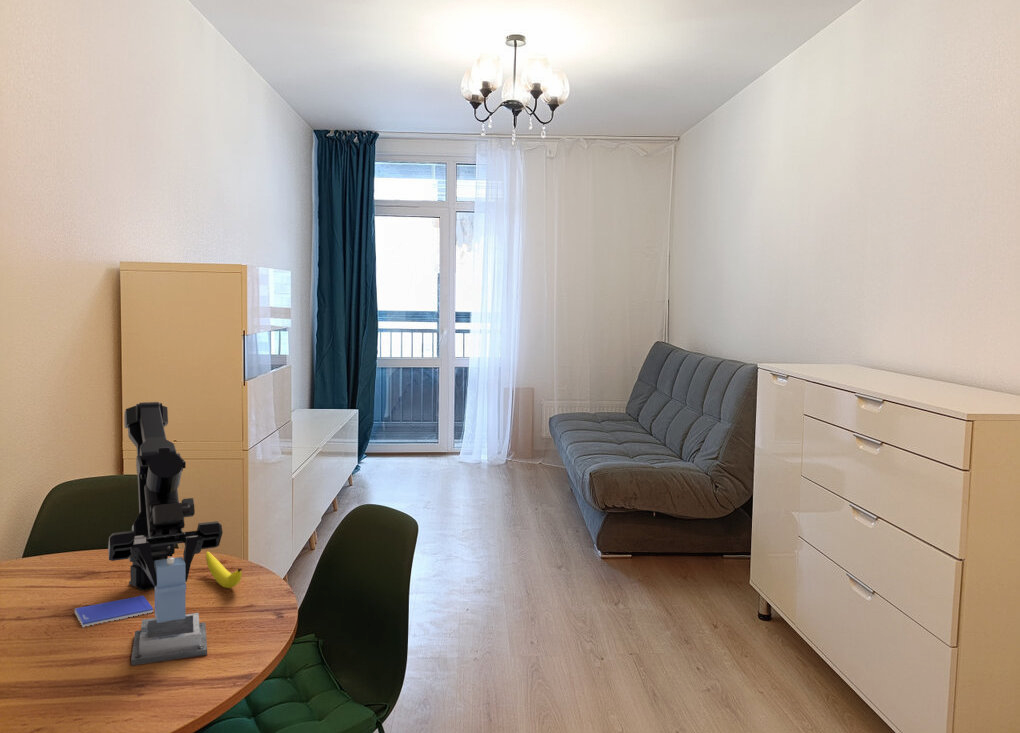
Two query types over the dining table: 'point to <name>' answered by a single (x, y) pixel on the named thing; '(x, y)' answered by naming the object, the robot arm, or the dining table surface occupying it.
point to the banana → (222, 572)
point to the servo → (170, 589)
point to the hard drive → (113, 610)
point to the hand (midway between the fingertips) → (170, 583)
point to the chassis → (169, 640)
